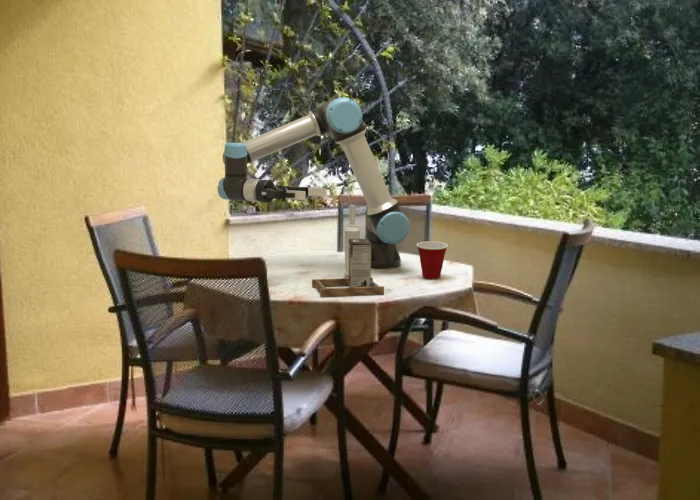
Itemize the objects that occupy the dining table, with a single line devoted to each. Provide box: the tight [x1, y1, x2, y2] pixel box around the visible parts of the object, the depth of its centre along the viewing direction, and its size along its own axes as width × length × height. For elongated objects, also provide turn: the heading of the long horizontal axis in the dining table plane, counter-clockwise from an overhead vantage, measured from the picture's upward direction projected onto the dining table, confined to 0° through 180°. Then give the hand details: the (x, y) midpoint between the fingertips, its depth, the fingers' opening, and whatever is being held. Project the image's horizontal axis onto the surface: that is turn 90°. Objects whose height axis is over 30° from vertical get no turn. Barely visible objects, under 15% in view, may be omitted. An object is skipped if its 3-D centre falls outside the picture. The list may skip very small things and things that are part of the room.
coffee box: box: [348, 238, 372, 287], centre depth 252 cm, size 9×6×16 cm
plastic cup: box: [415, 240, 449, 280], centre depth 273 cm, size 11×11×12 cm
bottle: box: [343, 204, 361, 278], centre depth 271 cm, size 5×5×25 cm
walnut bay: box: [311, 276, 385, 298], centre depth 252 cm, size 20×15×2 cm
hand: (315, 194), depth 255 cm, fingers open, 13 cm apart
